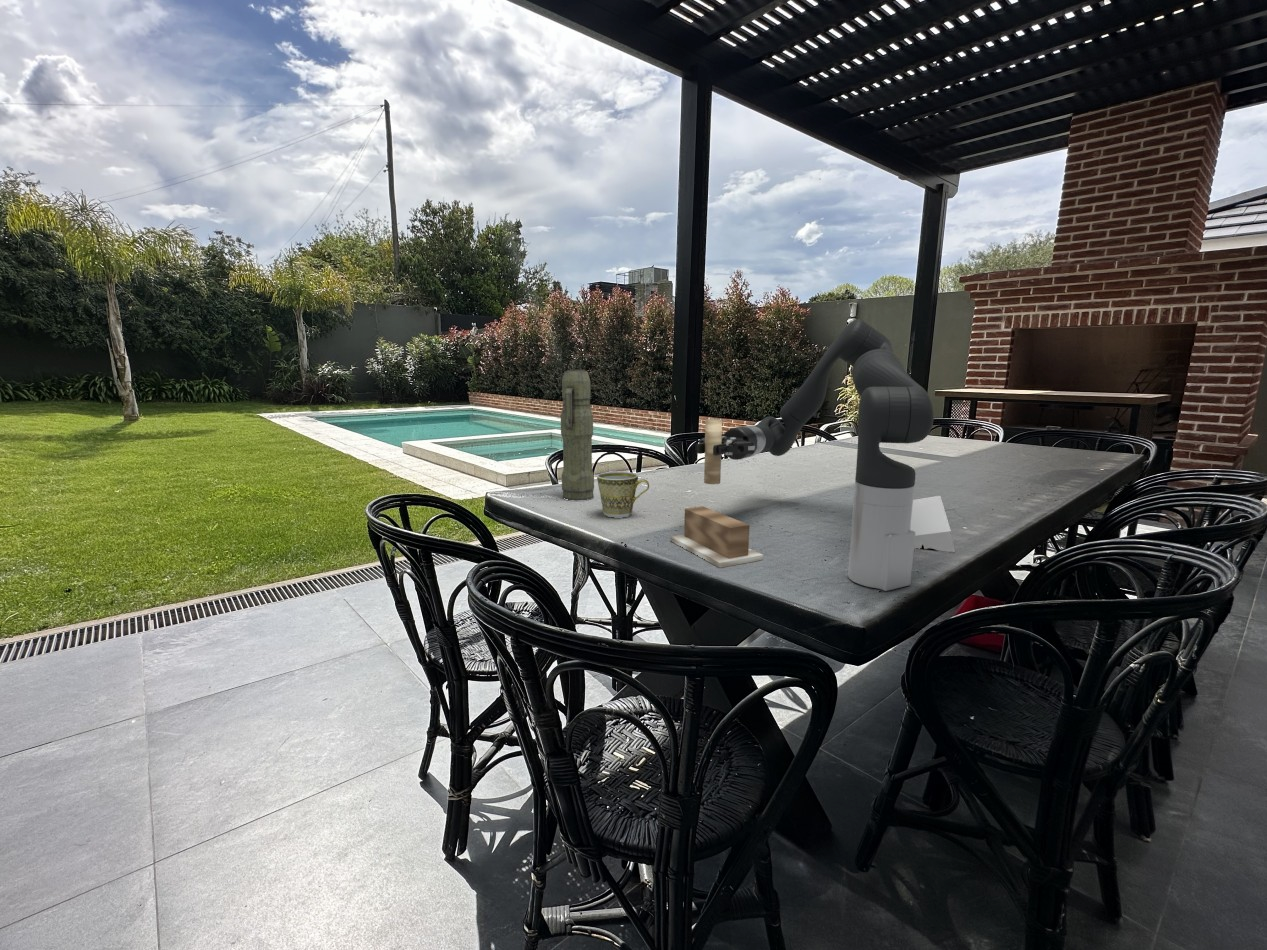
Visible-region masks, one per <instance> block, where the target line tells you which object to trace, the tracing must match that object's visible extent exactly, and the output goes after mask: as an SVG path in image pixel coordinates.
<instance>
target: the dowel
mask: <svg viewBox="0 0 1267 950" xmlns="http://www.w3.org/2000/svg"><path fill="white" fill-rule="evenodd" d="M704 426H705V427H704V429H705V432H704V438H705V453H704V465H703V467H704V470H703V474H704V475H703V476H704V477H703V483H704V484H707V485H719V484H721V473H722V472H721V469H722V466H721V465H722V455H717V456H716V455H713V446H714V445H718V444H721V443H722V436H723V432H722V431H723V420H722V419H720V418H718V419H717V418H713V419H712V418H707V419H705V425H704Z"/></svg>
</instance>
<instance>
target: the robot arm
mask: <svg viewBox="0 0 1267 950" xmlns="http://www.w3.org/2000/svg"><path fill="white" fill-rule="evenodd" d="M822 355H823V356H821V358H820V360H819V361H818V363H816V365H815V367H814V368H813V369H812V371H810V372H811V373H809V375H808V377H807V378H806V379H805V381H804V382H803V383H802V384H801V386H800V387H799V388H798V389H797V390H796V391H795V392H794V393H793V395H792V396H791V397H790V398H789V399H788V400H787V401H786V402H785V403H784V405H783V406H781V408H780V411H779V414H780V415H779V416H780V418H781V420H782V422H783V423H781V421H780V420H779V419H778V418H776V417H774V416H769V415H768V416H766V417H764V418H762V419H761V420H760V421H759V422H758V423H757V424H756V425H743V426H738V427H731V428H729V429H727V430H726V431H725V432H724V434H722V443H721V444H718V445H714V446H713V455H716V456H717V455H721V456H722V455H725V456H726V457H728V458H729V459H731V460H734V461H735V460H736V461H738V460H743V459H747V458H751V457H754V456H756V455H759V454H763V453H766V452H769V453H770V454H771V455H772V456H775V457H779V456H783V455H785V454H786V453H788V452H789V451H790V450H791V448H792V447H793V445H794V443H795V441H796V439H797V437H798V436H799V434H800V432H801V430H802V428H803V427H804V426H805V425H806V424H807V422H808V421H810V419H811V418H812V417H813V416H814V415H815V414H816V413H817V412H818V410H820V409H821V407H822V406H823V404H824V401H825V400H826V399H825V398H826V394H827V390H828V382H829V378H830V374H831V371H832V369H833V368H834V365H835V364H836V362H838V360H839V359H841V360H843V362H845V363H846V364H848V365H849V366H851V367H852V370H851V371H852V372H851V377H852V378H851V379H852V382H853V385H854V387H855V390H856V391H857V393H858V395H859V396H860V399H859V402H858V403H859V404H858V413H857V415H858V416H857V423H858V424H857V454H856V465H855V466H856V467H855V479H854V490H853V492H854V494H853V503H852V504H853V505H852V514H851V515H852V516H851V530H850V531H851V532H850V543H849V555H848V557H849V559H848V570H847V573H848V574H847V577H848V579H849V580H851V582H853V583H856V584H858V585H861V586H864V587H868V588H873V589H878V590H881V591H884V592H887V591H891V590H895V589H896V590H897V589H899V588H903V587H907V586H911V580H912V570H913V561H914V551H915V548H914V543H915V532H914V531H913V530H910V527H911V516H912V505H913V500H914V496H915V495H914V493H915V484H916V475H917V473H916V470H915V469H914V468H913V467H912V466H911V465H908V464H906V463H903V462H900V461H898V460H895V459H892V458H891V457H889V456H887V455H886V454H885V453H883V452H882V451H881V448H880V444H881V443H882V444H914V443H919V442H921V441H923V440H924V439H926V438H927V437H928V435H930V432H931V430H932V428H933V426H934V407H933V403H932V399H931V397H930V395H929V394H928V392H927V391H926V390H925V388H924V387H922V386H921V385H920V384H919V383H917V381H915V380H914V379H913V378H912V377H911V376H910V375H909V374H908V372H907V371H906V369H905V367H904V365H903V364H902V363H901V361H900V359H899V358H898V357H897V356H896V354H895V353H894V351H893V347H892V344H891V342H890V340H889V339H888V337H886V336H885V335H884V334H882V332H880V331H878V330H877V329H876V328H875V327H873V326H872V325H870V324H868V323H867V322H866V321H864V320H862V319H861V318H859V319H858V318H857V319H854V320H852V321H850V322H849V324H847V325H846V326H845V327H844V328H843V329H842V330H841V331H840V332H839V334H838V335H837V336H836V337H835V339H834V340H833V341H832V343H831V344H830V346H829V347H828V349H827V350H826V351H825V352H824V354H822ZM783 424H784V425H783ZM695 447H696V449H695V452H696V454H698V455H699V454H700V455H702V454H705V437H703V438H701V439H699V440H698V443H697V444H696V445H695Z"/></svg>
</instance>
